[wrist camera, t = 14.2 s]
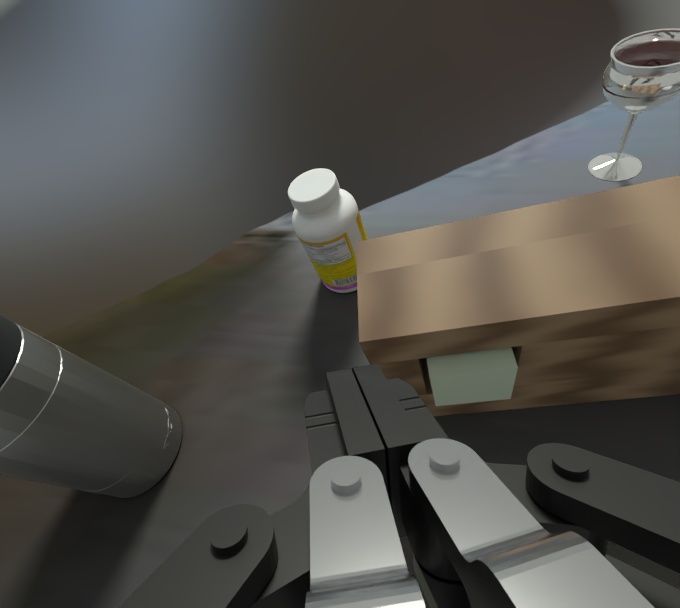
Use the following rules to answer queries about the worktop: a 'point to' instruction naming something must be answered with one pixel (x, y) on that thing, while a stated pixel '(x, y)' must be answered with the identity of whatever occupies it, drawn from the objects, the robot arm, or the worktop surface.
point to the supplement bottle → (327, 227)
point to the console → (535, 298)
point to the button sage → (472, 376)
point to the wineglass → (638, 90)
